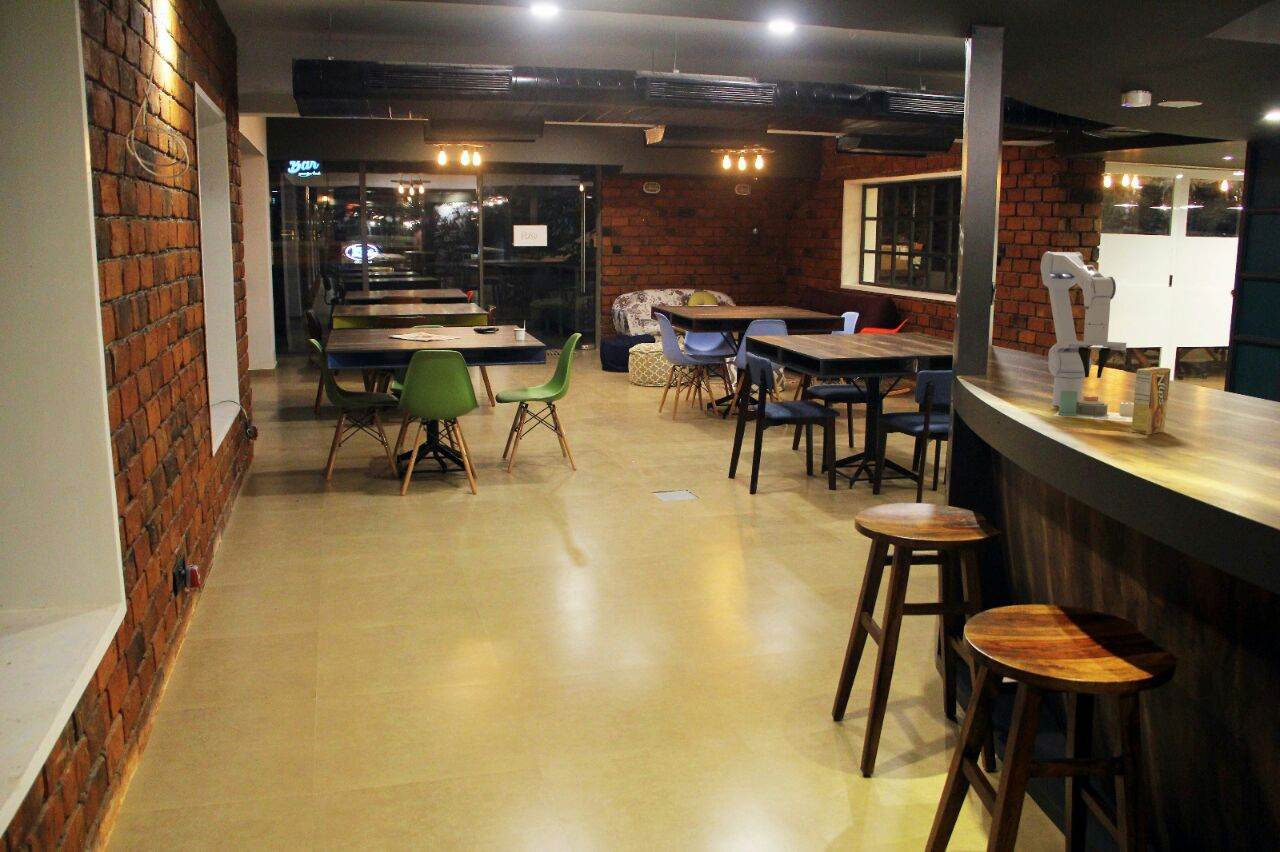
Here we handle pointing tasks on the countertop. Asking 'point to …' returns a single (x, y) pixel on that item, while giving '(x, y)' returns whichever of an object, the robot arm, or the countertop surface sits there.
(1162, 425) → the candy box
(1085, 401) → the dome button
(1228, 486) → the countertop surface
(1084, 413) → the game board
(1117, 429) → the countertop surface
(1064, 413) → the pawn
